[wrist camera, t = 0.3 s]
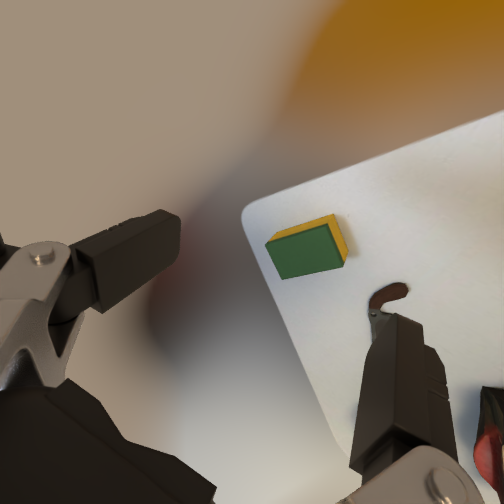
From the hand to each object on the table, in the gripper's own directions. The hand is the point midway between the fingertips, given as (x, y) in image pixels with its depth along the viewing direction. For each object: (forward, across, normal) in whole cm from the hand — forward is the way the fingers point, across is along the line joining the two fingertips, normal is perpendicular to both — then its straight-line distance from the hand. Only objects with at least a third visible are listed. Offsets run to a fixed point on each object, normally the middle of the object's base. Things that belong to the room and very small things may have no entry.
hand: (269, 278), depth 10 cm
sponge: (+20, +1, +9) cm, 22 cm away
